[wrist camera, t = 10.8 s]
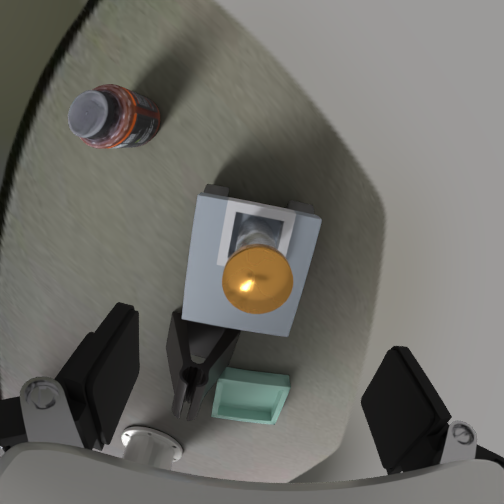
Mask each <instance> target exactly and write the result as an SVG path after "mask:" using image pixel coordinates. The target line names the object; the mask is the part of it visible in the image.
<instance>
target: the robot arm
mask: <svg viewBox="0 0 504 504" xmlns="http://www.w3.org/2000/svg"><path fill="white" fill-rule="evenodd" d="M139 369H140V363H139V313H138V311H135V310H134V306H132V305H128V304H124V303H120V302H118V303H117V304H116V305H115V306H114V308H113V309H112V310H111V311H110V313H109V314H108V315H107V317H106V318H105V319H104V321H103V322H102V323H101V325H100V326H99V327H98V329H97V330H96V331H95V333H94V332H89V333H88V334H87V335H86V337H85V338H84V339H83V341H82V342H81V343H80V345H79V346H78V347H77V349H76V350H75V351H74V353H73V354H72V356H71V357H70V358H69V360H68V361H67V362H66V364H65V365H64V367H63V368H62V369H61V371H60V372H59V374H58V375H57V377H56V378H55V379H52V378H49V377H45V376H42V377H35V378H31V379H30V380H28V381H26V382H25V383H24V385H23V386H22V388H21V390H20V396H19V397H14V398H9V399H4V400H0V504H504V458H503V457H501V456H499V455H497V454H495V453H493V452H491V451H489V450H487V449H485V448H483V447H481V446H479V445H477V435H476V432H475V431H474V429H473V428H472V427H471V426H470V425H469V424H467V423H466V422H463V421H454V422H452V423H451V424H450V425H448V423H447V422H448V421H449V420H450V419H451V417H452V416H451V415H450V413H449V411H448V410H447V408H446V406H445V405H444V403H443V401H442V400H441V398H440V397H439V395H438V393H437V391H436V390H435V388H434V387H433V385H432V383H431V382H430V380H429V379H428V377H427V376H426V374H425V373H424V371H423V370H422V368H421V367H420V365H419V363H418V362H417V360H416V359H415V357H414V356H413V355H412V353H411V351H410V350H409V348H407V347H403V346H394V347H392V348H391V349H390V350H388V351H387V354H386V355H385V357H384V359H383V361H382V363H381V365H380V366H379V368H378V370H377V372H376V374H375V375H374V377H373V379H372V381H371V382H370V384H369V386H368V388H367V389H366V391H365V393H364V394H363V396H362V399H361V405H362V408H363V411H364V413H365V417H366V419H367V422H368V425H369V427H370V431H371V433H372V436H373V439H374V442H375V445H376V448H377V451H378V454H379V457H380V459H381V462H382V465H383V467H384V468H385V469H386V470H387V473H388V475H387V476H380V477H374V478H366V479H359V480H349V481H338V482H325V483H323V482H322V483H263V482H247V481H235V480H226V479H218V478H210V477H204V476H197V475H191V474H186V473H181V472H176V471H171V467H172V462H175V461H177V460H179V459H180V458H181V457H182V451H183V450H182V447H181V446H180V444H179V443H178V442H177V441H176V440H175V439H173V438H172V437H170V436H169V435H167V434H165V433H163V432H160V431H158V430H155V429H151V428H147V427H139V426H136V427H129V428H127V429H125V430H124V431H123V433H122V436H121V439H122V442H123V444H124V445H125V446H126V448H125V451H124V454H123V457H122V458H118V457H115V456H111V455H107V454H104V453H100V452H97V451H93V450H92V449H93V448H95V449H98V450H101V451H102V449H103V447H104V444H107V445H109V444H110V442H111V440H112V437H113V435H114V432H115V430H116V427H117V425H118V422H119V420H120V417H121V415H122V412H123V410H124V408H125V405H126V403H127V400H128V398H129V396H130V393H131V391H132V389H133V386H134V384H135V382H136V379H137V377H138V374H139ZM401 471H403V473H400V472H401Z"/></svg>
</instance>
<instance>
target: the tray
mask: <svg viewBox="0 0 504 504" xmlns="http://www.w3.org/2000/svg"><path fill="white" fill-rule="evenodd" d="M290 388H291V386H290V380H289V375H282V374H273V373H265V372H257V371H250V370H243V369H237V368H230V367H226V369H225V370H224V371H223V373H222V374H221V375H220V377H219V378H218V380H217V385H216V390H215V396H214V401H213V407H212V415H211V417H215V418H222V419H229V420H236V421H244V422H253V423H263V424H274V425H275V423H276V421H277V418H278V416H279V414H280V412H281V409H282V407H283V405H284V402H285V400H286V397H287V395H288V393H289V390H290Z"/></svg>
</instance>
